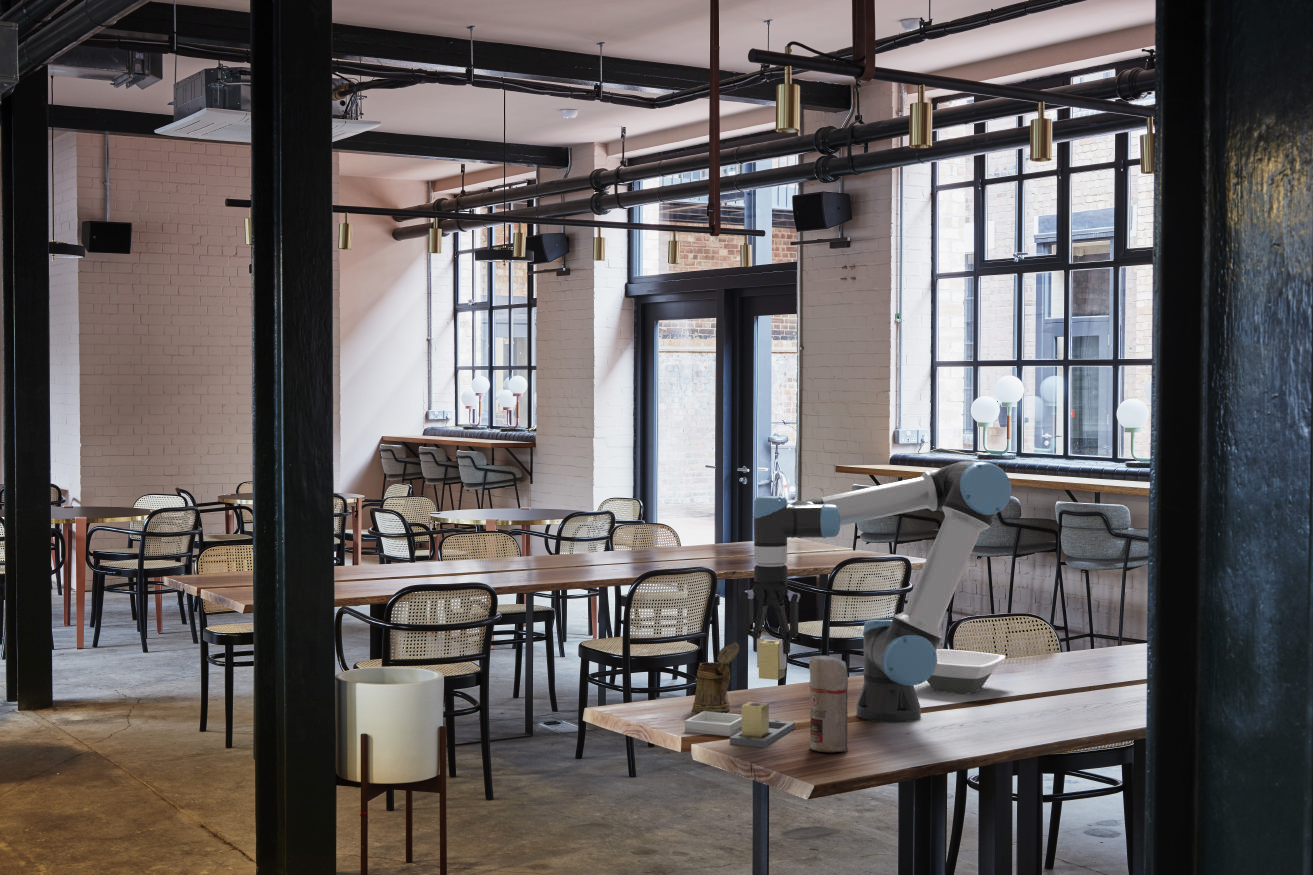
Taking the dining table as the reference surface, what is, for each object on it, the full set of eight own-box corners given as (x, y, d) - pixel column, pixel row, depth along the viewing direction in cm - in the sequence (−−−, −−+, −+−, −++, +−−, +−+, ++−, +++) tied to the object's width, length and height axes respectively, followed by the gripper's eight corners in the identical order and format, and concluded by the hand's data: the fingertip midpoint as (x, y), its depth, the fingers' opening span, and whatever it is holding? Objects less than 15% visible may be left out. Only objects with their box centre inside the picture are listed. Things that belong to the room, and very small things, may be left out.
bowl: (1011, 686, 342) (1011, 654, 342) (984, 701, 322) (984, 667, 322) (932, 677, 353) (932, 647, 353) (901, 691, 334) (901, 659, 334)
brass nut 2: (784, 676, 290) (784, 640, 290) (778, 679, 286) (777, 643, 286) (765, 674, 292) (765, 639, 292) (758, 678, 288) (758, 642, 288)
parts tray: (747, 726, 294) (747, 715, 294) (730, 736, 284) (730, 724, 284) (704, 721, 299) (703, 710, 299) (685, 731, 289) (685, 720, 289)
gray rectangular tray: (794, 728, 292) (794, 721, 292) (764, 747, 274) (764, 740, 274) (761, 724, 295) (761, 718, 295) (729, 743, 277) (729, 736, 277)
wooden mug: (719, 719, 302) (719, 642, 302) (685, 709, 313) (685, 635, 313) (748, 714, 307) (748, 639, 307) (713, 704, 318) (713, 632, 318)
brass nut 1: (768, 739, 281) (768, 702, 281) (761, 744, 277) (761, 706, 277) (749, 737, 283) (749, 701, 283) (741, 742, 279) (741, 705, 279)
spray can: (805, 745, 276) (805, 652, 276) (842, 744, 276) (842, 652, 276) (813, 754, 267) (813, 659, 267) (852, 754, 268) (852, 658, 268)
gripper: (813, 564, 289) (814, 667, 289) (740, 561, 296) (741, 661, 296) (802, 567, 282) (803, 672, 282) (728, 564, 289) (729, 667, 289)
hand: (771, 667), depth 289 cm, fingers closed on brass nut 2, 5 cm apart
